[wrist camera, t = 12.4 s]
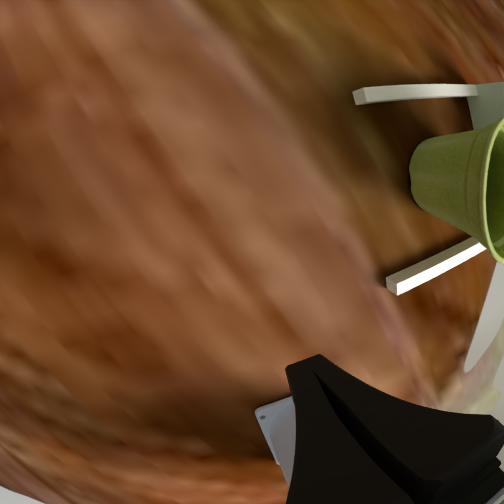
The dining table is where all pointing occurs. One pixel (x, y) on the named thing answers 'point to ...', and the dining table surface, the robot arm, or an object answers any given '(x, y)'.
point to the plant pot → (464, 182)
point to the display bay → (482, 114)
